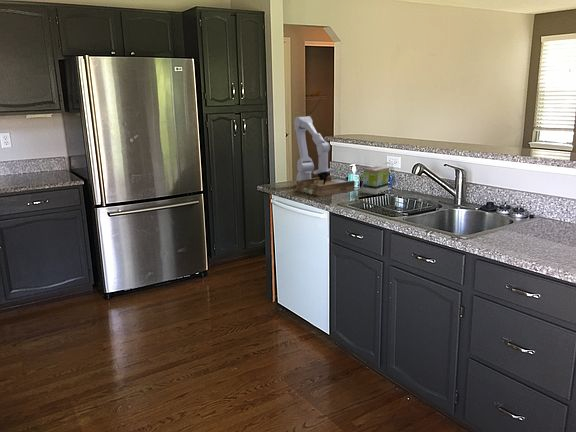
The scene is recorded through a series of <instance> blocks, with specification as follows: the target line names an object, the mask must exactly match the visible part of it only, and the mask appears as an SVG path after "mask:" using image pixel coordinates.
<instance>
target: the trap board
mask: <svg viewBox="0 0 576 432" xmlns="http://www.w3.org/2000/svg"><path fill="white" fill-rule="evenodd" d="M314 180H320V178H319V177H315V178H311V179H307V180H300V181H297V180H296V185H297V186H296V191H297V192H301V193H304V192H305V194H308V193H309V195H312V194H313V195H312V196H316V195H317V197H320V196H321V197H324V196H325V195H326V196H331V194H332V195H336V194H341V193H348V192H353V191H355V184H356V182H355V180H349V181H342V182H339V181H333V180H332V175H328V177H327V179H326V182H325V185H323V186H319V185H314Z"/></svg>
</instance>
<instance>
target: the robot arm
mask: <svg viewBox="0 0 576 432" xmlns="http://www.w3.org/2000/svg"><path fill="white" fill-rule="evenodd" d="M313 122H314V121H313V119H312V117H311V116H310V115H308V116H296V117H295V119H294V121H293V124H294V130H295V133H296V135H295V136H296V140H297V146H298V152H299V159H298V160H297V162H296V164H297V165H296V169H297V171H298V172H297V174H296V182H297V181H300V180H307V179H312V174H313V175H317V176H318V178H320V180H324V185H325V182H326V179H327V177H328V176H330V175H329V174H330V173H333V172H334V169H333V168H332V167H331V168H329V152H330V150H331V145H330V143H329V142H328V141H326V139H324V138H323V136H322V134H321V133H320V132H317V129H316V128H315V126H314V124H313ZM306 131H308V132H309V134H310V135H311V136H312V137H311V138H312V139H311V140H312V141H313V142H314V144H315V145H316V151H317V156H318V169H315V165H314V162H313V159H312V157H310V156H309V151H308V146H307V139H306V133H305V132H306ZM295 186H296V187H297V184H295Z"/></svg>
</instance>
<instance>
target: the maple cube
mask: <svg viewBox="0 0 576 432" xmlns="http://www.w3.org/2000/svg"><path fill="white" fill-rule="evenodd" d="M314 185H319V186H323V185H324V180H314Z"/></svg>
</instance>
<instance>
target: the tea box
mask: <svg viewBox="0 0 576 432" xmlns="http://www.w3.org/2000/svg"><path fill="white" fill-rule="evenodd" d="M362 178H363V179H362V181H363V182H362V193H363V194H370V195H376V194H377V195H378V193H379V194H382V193H385V192H387V191H386V190H389V183H388V180H389V179H390V167H387V166H377V165H376V166H375V165H374V166H371V167H370V166H369V167H367V168H363V177H362ZM389 181H390V180H389ZM384 191H385V192H384ZM381 192H382V193H381Z"/></svg>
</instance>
